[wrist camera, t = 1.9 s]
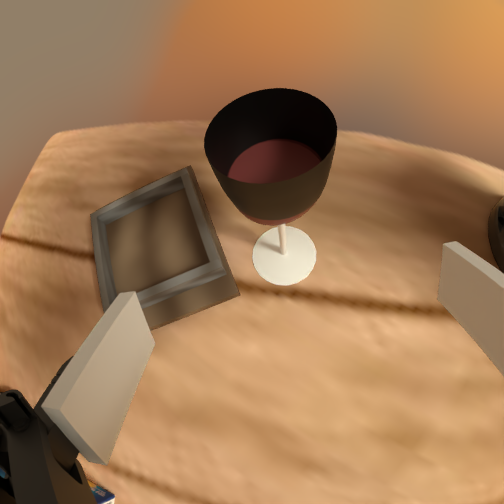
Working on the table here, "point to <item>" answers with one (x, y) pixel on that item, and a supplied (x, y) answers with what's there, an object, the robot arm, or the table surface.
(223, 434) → the table surface
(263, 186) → the wineglass
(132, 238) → the tray
